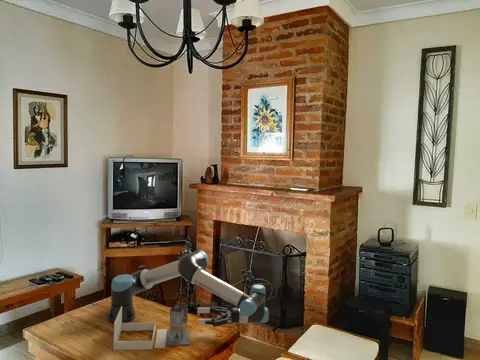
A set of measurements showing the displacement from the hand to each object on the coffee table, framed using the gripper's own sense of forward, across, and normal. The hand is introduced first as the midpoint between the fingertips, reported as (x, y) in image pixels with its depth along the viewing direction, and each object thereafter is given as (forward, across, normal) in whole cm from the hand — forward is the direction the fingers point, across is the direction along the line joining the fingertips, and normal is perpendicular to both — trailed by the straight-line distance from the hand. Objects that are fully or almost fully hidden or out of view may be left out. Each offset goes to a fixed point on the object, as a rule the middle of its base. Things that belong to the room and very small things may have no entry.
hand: (197, 315), depth 192 cm
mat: (+10, 0, -12) cm, 15 cm away
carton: (+28, 0, -12) cm, 30 cm away
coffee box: (+10, 0, -11) cm, 15 cm away
